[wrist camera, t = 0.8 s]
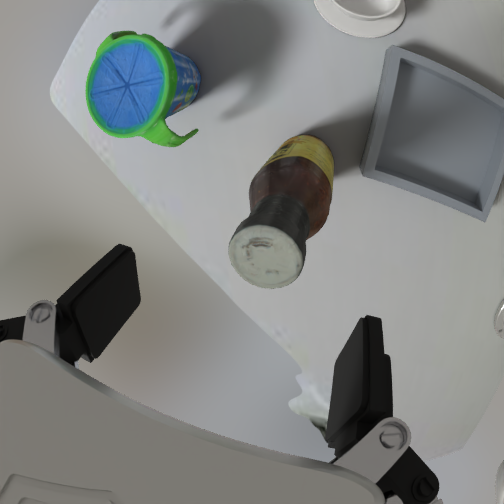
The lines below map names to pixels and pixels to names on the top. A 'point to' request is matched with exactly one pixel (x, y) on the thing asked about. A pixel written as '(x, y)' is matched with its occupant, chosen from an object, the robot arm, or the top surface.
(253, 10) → the top surface
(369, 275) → the top surface
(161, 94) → the snack cup
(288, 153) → the sauce bottle
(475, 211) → the tray
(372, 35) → the teacup
